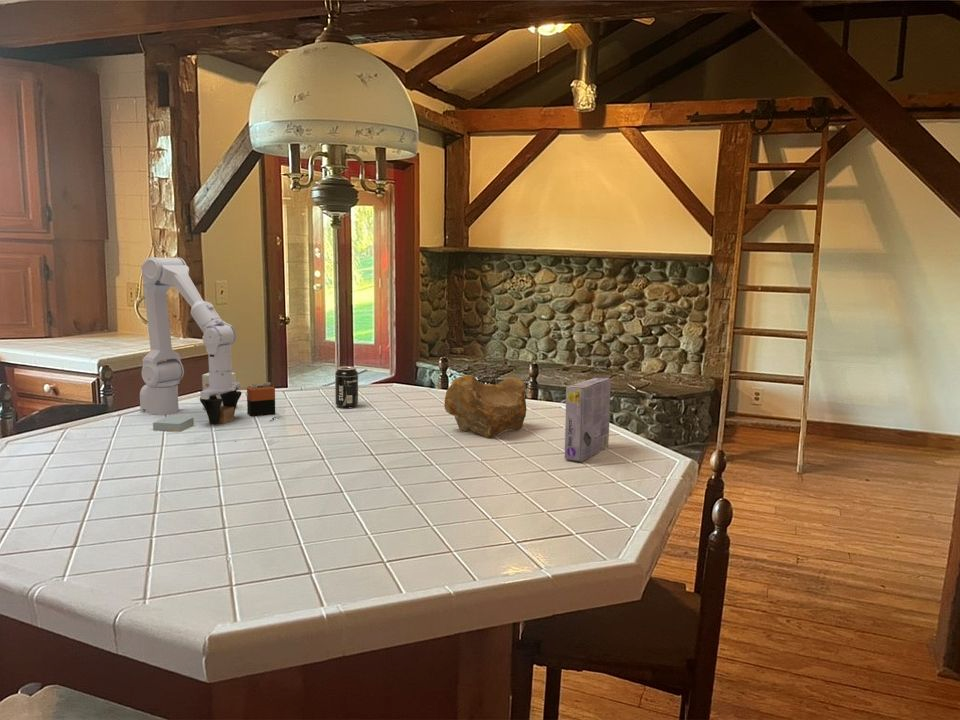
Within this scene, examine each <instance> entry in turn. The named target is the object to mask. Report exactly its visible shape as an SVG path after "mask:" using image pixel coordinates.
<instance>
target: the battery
mask: <svg viewBox="0 0 960 720" xmlns="http://www.w3.org/2000/svg"><path fill="white" fill-rule="evenodd" d="M246 405H247V407H246V409H247V416H249V417H251V418H253V417H255V418H256V417H262V416H266V417H267V416H274V415H275V416H274V417H272V418H271V420H274V418H275V419H276V388H275V387H274V386H273V385H271V382H262V384H261V385H258V384H257V383H252V384H251V386H247V387H246Z"/></svg>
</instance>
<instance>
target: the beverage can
mask: <svg viewBox="0 0 960 720" xmlns="http://www.w3.org/2000/svg"><path fill="white" fill-rule="evenodd" d="M334 376H335V377H334V378H335V380H334V381H335V385H334V386H335V387H334V388H335V389H334V390H335V391H334V393H335V394H334V399H335V400H334V401H335V405H336V407H338V408H340V407H343V408H342V409H350V408H349V407H353V408H355V407H356V406H358V404H359V372H358V371H357V367H356V366H351V365H350V366H348V365H347V366H346V365H343V366H338V367H337V370H336V371H335V373H334Z"/></svg>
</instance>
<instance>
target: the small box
mask: <svg viewBox="0 0 960 720" xmlns="http://www.w3.org/2000/svg"><path fill="white" fill-rule="evenodd" d="M201 381H202V382H201V383H202V391H203V390H205V389H207V388H208V387H209V372H207V373H204V374H202V375H201ZM232 382H237V373H236V372H232ZM236 391H238V390H236ZM216 397H217V398H218V399H222V398H221V396H220V395H217V396H216ZM202 406H203V405H202ZM221 406H223V402H222V403H221ZM237 407H238V404H237V405H236V408H237ZM204 409H205V408H204V406H203V410H204Z"/></svg>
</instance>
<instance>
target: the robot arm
mask: <svg viewBox="0 0 960 720" xmlns="http://www.w3.org/2000/svg"><path fill="white" fill-rule="evenodd" d="M140 267H141V274H142V283H143V294H144V295H143V296H144V304H145V312H146V320H147V328H148V329H147V331H148V338H149V347H150V348H149V349H150V351H149V352H148V353H147V354H146V355H145V356H144V357H143V358H142V368H141V378H142V380H143V382H144V383H145V384H144V385H143V386H142V387H141V389H140V391H139V406H140V410H139V411H140V413H141V414H142V413H143V414H152V415H157V416H158V415H160V416H161V415H171V414H177V413H178V412H180V411H179V390H178V389H179V388H178V387H179V386H178V384H181V382H180V381H181V380H182V379H183V377H184V375H185V370H184V369H185V368H184V365H183V364H182V360H181V355H180V354H179V353H178V352H176V351H175V350H173V347H172V346H173V345H172V338H171V337H172V336H171V327H170V319H169V318H170V317H169V309H168V300H167V292H168V291H169V290H170V289H171V288H172V287H175V289H176V290H177V291H178V292H179V294H180V296H182V298H183V299H184V300H185V301H186V302H187V304H188V305H189V306H190V307H191V309H190V315H191V317H192V319H193V320H194V321H195V323H196V324H197V326H198V327H199V328H200V330H201V332H202V333H203V335H202V336H201V337H202V341H203V344H204V346H205V351H206V353H207V354H208V355H207V356H208V359H207V360H208V373H209V387H208V388H207V389H205V390H203V389H202V391H199V392H200V397H199V402H200V403H201V405H202V406H204V408H205V410H204V411H205V412H206V414H207V418H208V422H209V421H210V422H209V424H210V425H218V424H220V423H219V412H220V406H221V403H222V402H223V406H228V407H234V414H235V413H236V408H237V407H236V405H237V406H238V402H239V400H240V398H241V396H242V391H239V390H241V382H239V381H238V382H237V381H236V382H232V373H233V361H232V360H233V359H232V345H234V343H235V342H236V338H237V333H236V330H235V328H234V326H233V325H232V324H230V323H227V322H226V321H224V320H223V319H222V318H221V316H220V315H219V314H218V312H217V311H216V309H215V306H214V305H213V304H212V303H211V302H209V301H205V300H204V299H203V298H202V295H201V294H200V293H199V291H198V289H197V287H196V286H195V284H194V282H193V280H192V278H191V276H190V267H189V266H188V265H187V263H186V261H185V260H184V259H183V258H181V257H177V256H176V257H154V256H151V257H150V256H149V257H148V258H146V260H145V261H144V262H143V264H142V265H141V266H140ZM236 390H237V391H236ZM217 395H220V396H221V398H222V399H218V398H217V397H216V396H217ZM204 408H203V409H204Z"/></svg>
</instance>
